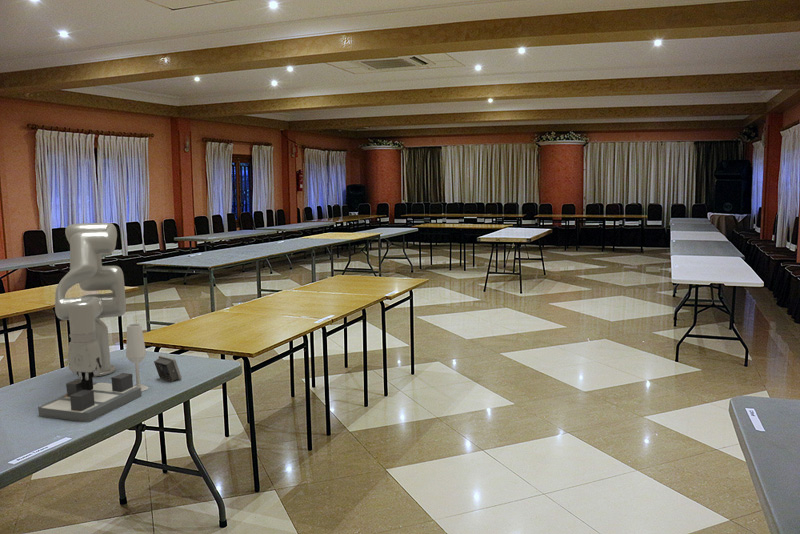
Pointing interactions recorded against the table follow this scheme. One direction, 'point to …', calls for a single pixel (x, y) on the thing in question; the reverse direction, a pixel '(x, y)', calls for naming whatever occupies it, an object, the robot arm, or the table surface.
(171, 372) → the electrical switch
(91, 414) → the breaker panel
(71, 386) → the block
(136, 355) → the champagne flute
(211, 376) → the table surface
